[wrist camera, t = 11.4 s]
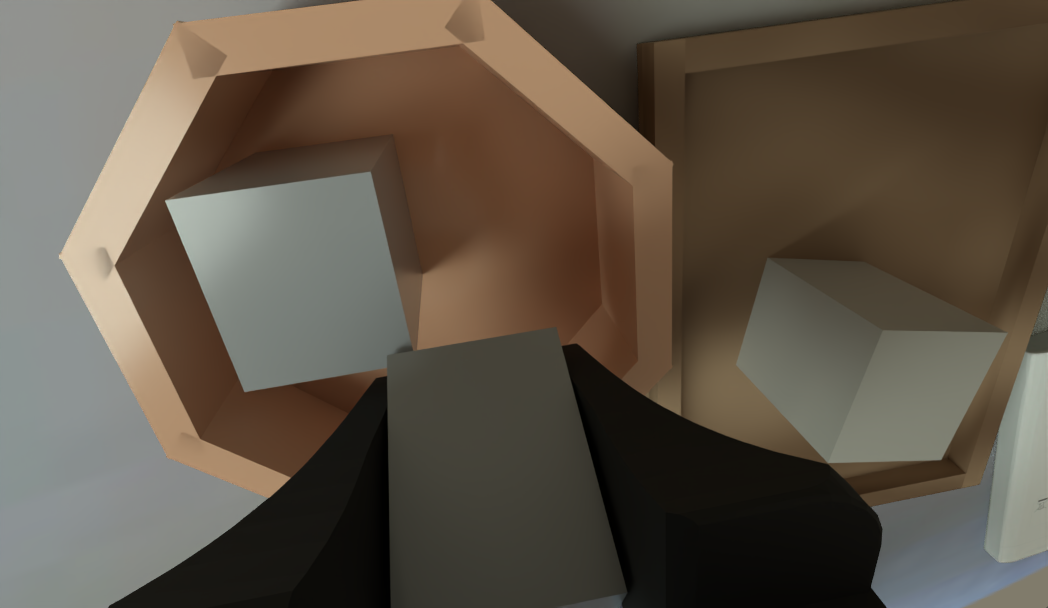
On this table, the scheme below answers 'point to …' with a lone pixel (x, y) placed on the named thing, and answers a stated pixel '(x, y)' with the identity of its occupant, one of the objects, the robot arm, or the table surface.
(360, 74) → the bowl
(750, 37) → the tray
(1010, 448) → the external hard drive
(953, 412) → the stone
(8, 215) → the table surface
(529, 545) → the stone
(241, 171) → the stone
